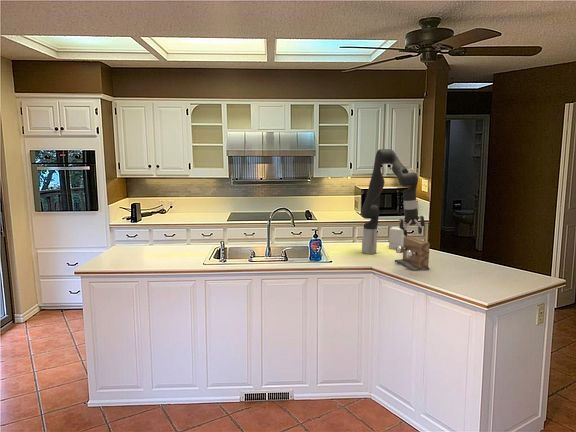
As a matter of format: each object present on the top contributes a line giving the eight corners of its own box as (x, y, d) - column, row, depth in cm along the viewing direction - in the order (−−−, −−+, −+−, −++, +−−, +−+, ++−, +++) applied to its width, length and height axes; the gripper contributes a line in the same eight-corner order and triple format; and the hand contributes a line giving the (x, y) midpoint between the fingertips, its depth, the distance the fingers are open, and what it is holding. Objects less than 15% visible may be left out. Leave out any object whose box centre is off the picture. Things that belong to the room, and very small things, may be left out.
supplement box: (404, 248, 315) (405, 227, 312) (401, 250, 307) (401, 229, 305) (392, 246, 319) (393, 226, 317) (388, 248, 312) (389, 228, 310)
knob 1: (398, 253, 269) (399, 247, 268) (395, 252, 273) (395, 245, 272) (410, 253, 271) (410, 246, 270) (406, 251, 275) (407, 244, 274)
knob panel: (412, 270, 256) (413, 244, 253) (394, 261, 277) (395, 237, 274) (429, 269, 258) (430, 243, 256) (410, 260, 279) (411, 236, 277)
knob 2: (408, 258, 257) (408, 251, 256) (404, 256, 261) (405, 249, 261) (420, 257, 259) (421, 250, 258) (416, 256, 263) (417, 249, 263)
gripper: (419, 204, 253) (421, 231, 256) (396, 208, 252) (398, 235, 254) (425, 206, 246) (427, 234, 249) (401, 210, 244) (403, 238, 247)
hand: (412, 234), depth 252 cm, fingers open, 8 cm apart
